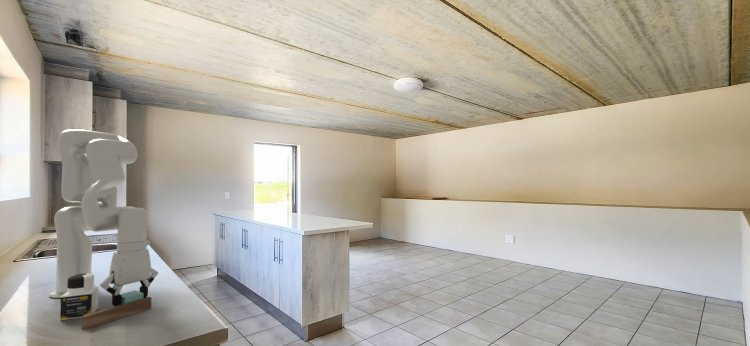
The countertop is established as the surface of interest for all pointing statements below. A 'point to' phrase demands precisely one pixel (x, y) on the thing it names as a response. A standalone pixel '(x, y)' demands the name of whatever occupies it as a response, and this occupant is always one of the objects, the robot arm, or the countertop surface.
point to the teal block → (131, 297)
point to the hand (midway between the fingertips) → (130, 302)
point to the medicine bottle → (79, 297)
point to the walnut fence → (115, 313)
